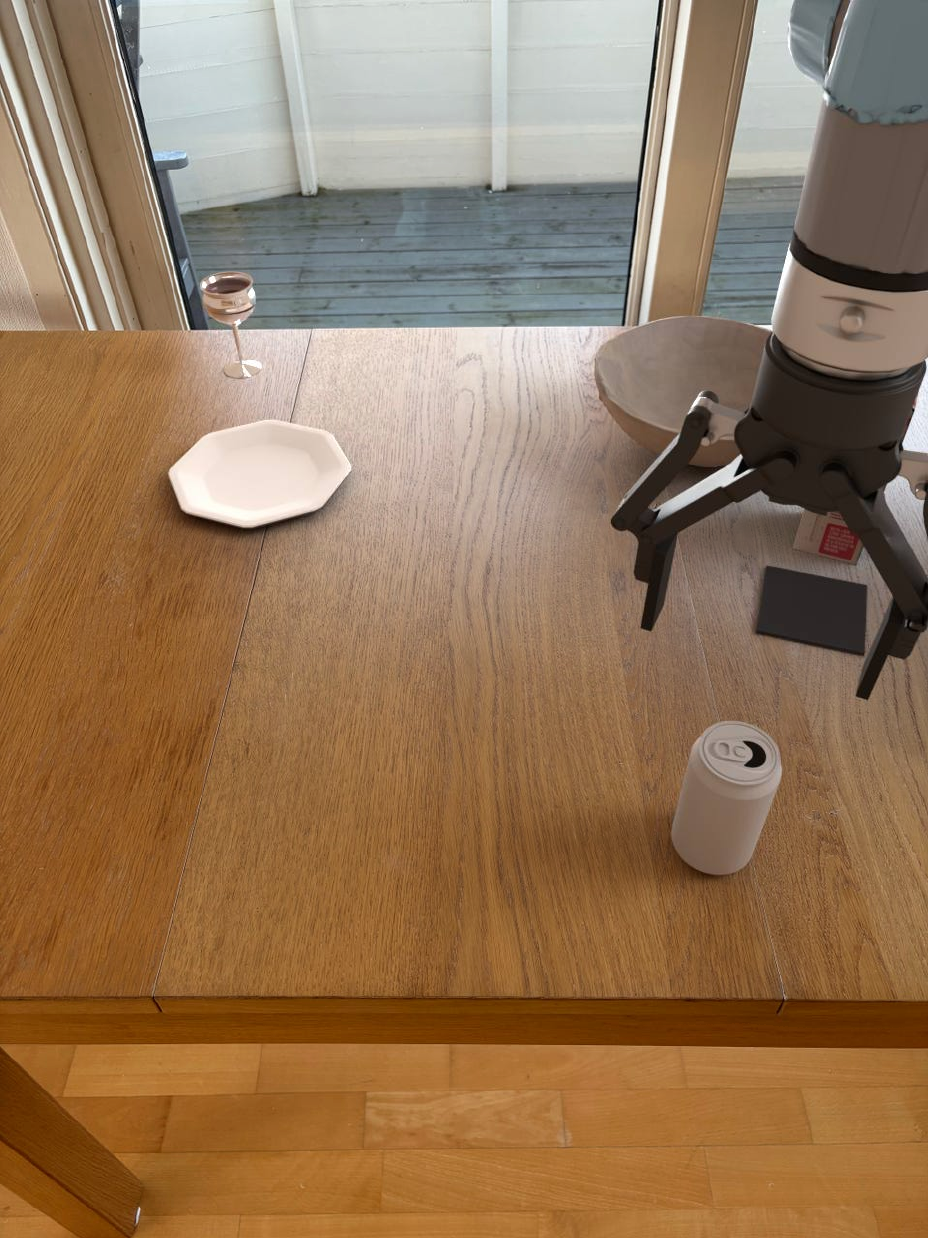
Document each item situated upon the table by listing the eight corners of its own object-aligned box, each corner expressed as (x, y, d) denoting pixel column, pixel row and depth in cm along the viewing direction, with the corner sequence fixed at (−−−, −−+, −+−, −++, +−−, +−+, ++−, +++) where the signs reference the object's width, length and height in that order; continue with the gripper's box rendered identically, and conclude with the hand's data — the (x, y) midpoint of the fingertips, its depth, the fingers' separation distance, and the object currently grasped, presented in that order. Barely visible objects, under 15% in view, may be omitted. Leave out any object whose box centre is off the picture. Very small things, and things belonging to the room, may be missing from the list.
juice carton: (865, 527, 103) (934, 341, 88) (856, 564, 99) (927, 376, 83) (803, 512, 105) (859, 328, 90) (792, 548, 101) (849, 360, 85)
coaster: (866, 587, 96) (867, 584, 96) (863, 656, 89) (865, 653, 89) (765, 567, 98) (766, 564, 98) (755, 633, 92) (756, 630, 91)
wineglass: (207, 367, 128) (188, 282, 120) (249, 350, 131) (234, 266, 123) (235, 387, 125) (217, 300, 116) (277, 368, 128) (264, 283, 119)
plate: (196, 552, 101) (193, 541, 100) (159, 455, 114) (156, 444, 113) (370, 505, 106) (369, 494, 105) (317, 417, 119) (315, 407, 118)
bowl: (853, 488, 108) (879, 412, 101) (634, 525, 104) (645, 448, 97) (750, 373, 126) (766, 302, 119) (560, 400, 122) (565, 328, 115)
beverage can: (753, 886, 72) (790, 794, 64) (668, 873, 73) (693, 781, 65) (750, 816, 77) (784, 721, 68) (670, 805, 78) (693, 710, 69)
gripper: (576, 324, 47) (550, 627, 62) (1141, 446, 39) (957, 759, 54) (625, 264, 52) (590, 559, 67) (1137, 363, 44) (969, 672, 59)
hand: (754, 649), depth 60 cm, fingers open, 13 cm apart
